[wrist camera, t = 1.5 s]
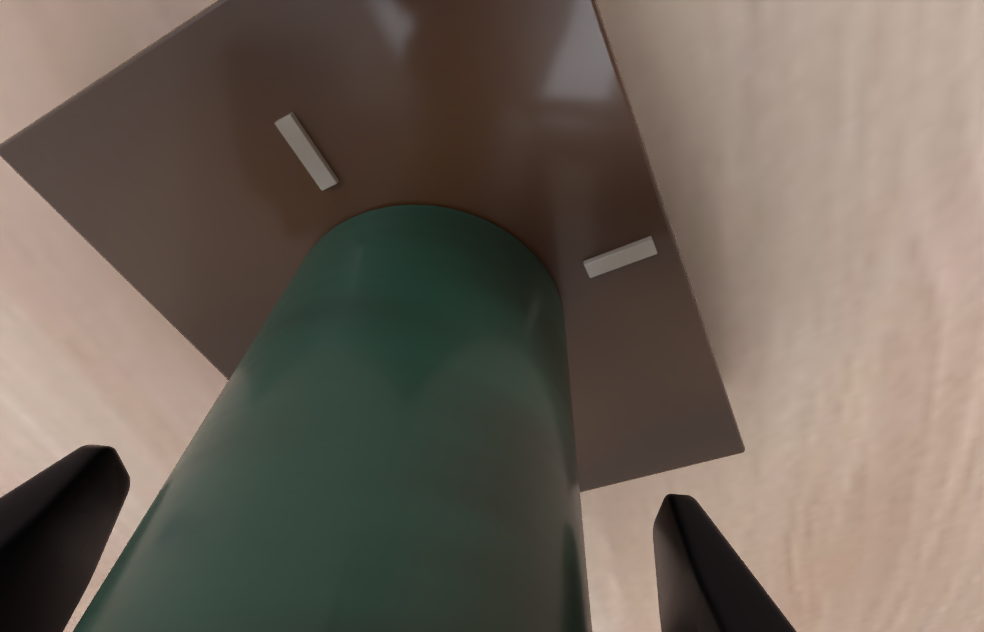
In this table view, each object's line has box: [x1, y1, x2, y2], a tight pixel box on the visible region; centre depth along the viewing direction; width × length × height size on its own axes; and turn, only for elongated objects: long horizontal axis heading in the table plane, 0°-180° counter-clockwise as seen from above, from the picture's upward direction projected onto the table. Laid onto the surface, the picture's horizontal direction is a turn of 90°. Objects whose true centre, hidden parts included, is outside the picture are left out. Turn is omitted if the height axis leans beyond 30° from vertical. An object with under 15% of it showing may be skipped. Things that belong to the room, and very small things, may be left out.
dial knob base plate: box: [0, 0, 745, 492], centre depth 13 cm, size 14×11×3 cm
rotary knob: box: [73, 205, 592, 632], centre depth 9 cm, size 6×6×8 cm
